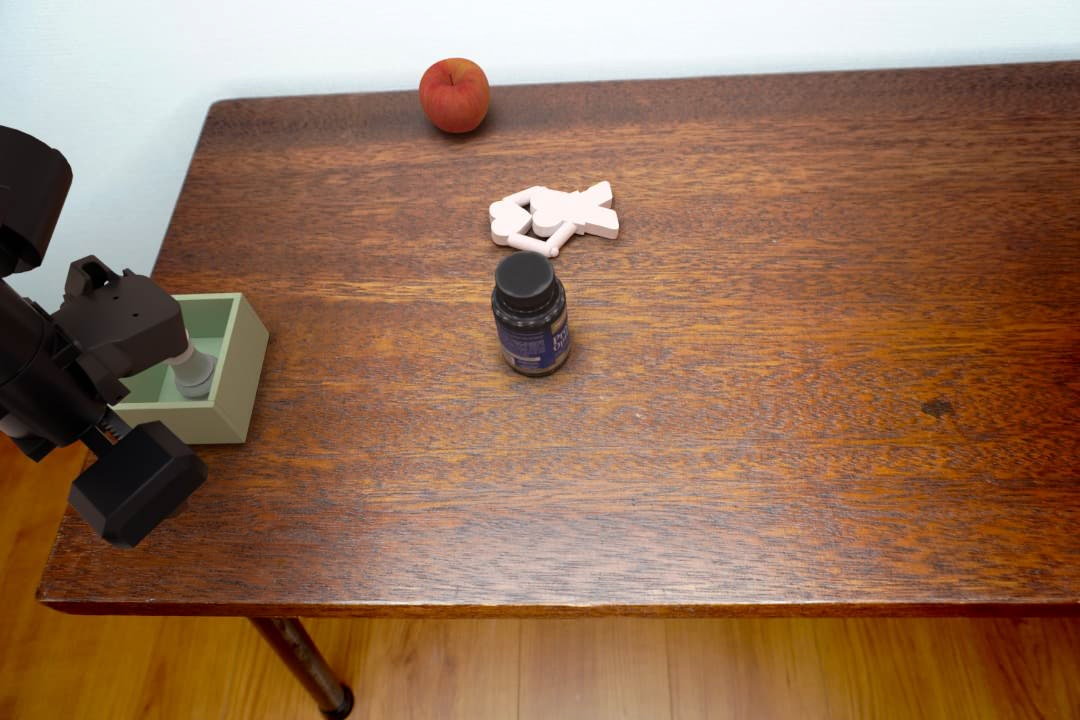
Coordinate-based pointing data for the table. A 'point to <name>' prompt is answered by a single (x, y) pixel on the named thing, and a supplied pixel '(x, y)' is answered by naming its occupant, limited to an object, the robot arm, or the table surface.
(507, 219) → the white abstract figurine
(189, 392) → the rook chess piece
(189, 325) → the bin
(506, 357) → the pill bottle
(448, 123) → the apple
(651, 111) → the table surface
